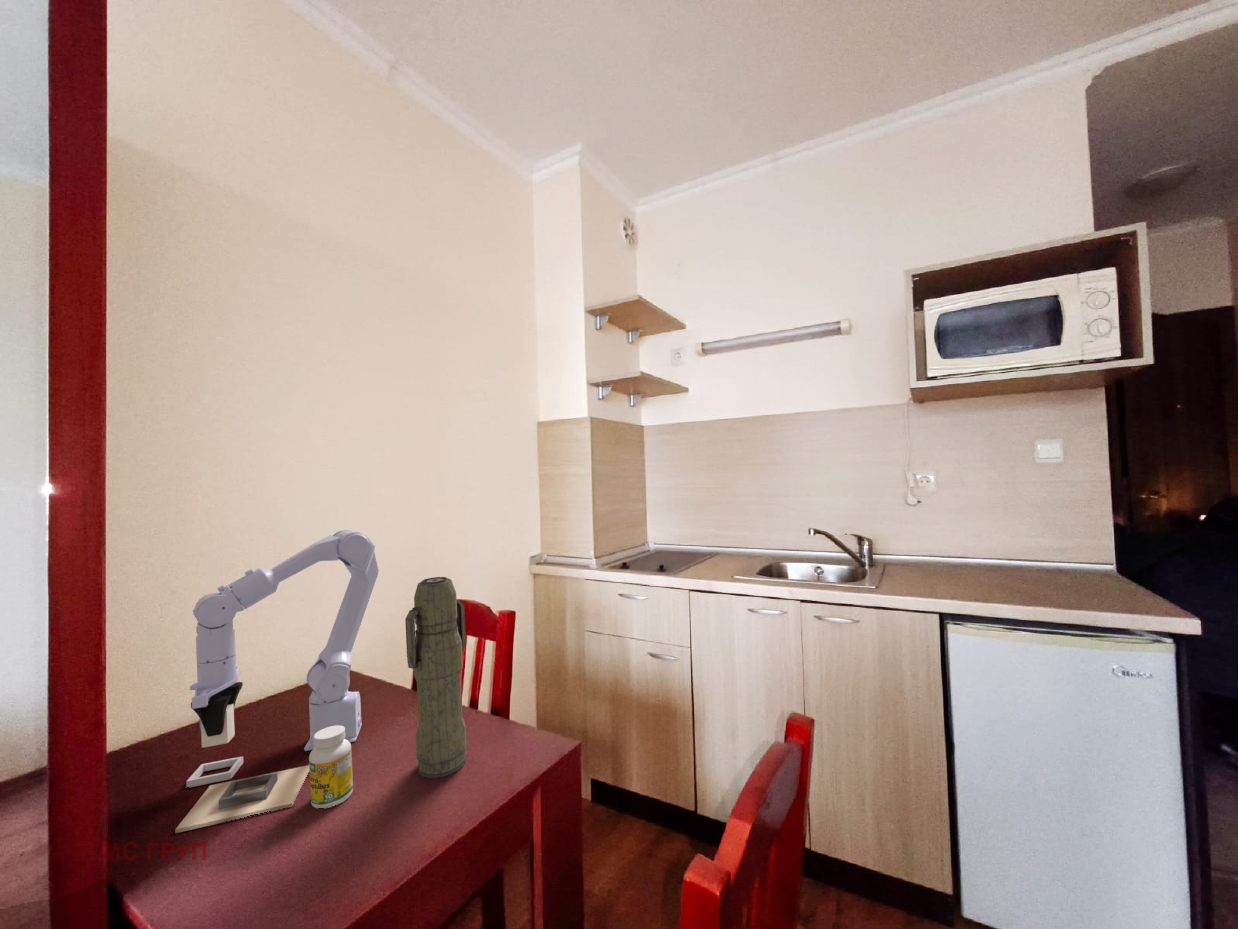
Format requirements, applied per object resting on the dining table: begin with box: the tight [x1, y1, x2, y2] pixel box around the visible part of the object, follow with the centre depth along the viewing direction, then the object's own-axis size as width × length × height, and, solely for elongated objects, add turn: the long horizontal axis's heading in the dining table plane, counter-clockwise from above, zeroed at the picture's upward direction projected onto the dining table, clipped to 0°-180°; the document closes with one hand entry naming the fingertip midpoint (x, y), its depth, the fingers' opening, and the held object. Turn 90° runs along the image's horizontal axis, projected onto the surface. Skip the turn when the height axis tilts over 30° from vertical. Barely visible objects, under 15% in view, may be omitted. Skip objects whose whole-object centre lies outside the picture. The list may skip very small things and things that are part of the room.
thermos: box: [405, 576, 467, 779], centre depth 95 cm, size 9×12×35 cm
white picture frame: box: [185, 756, 244, 789], centre depth 94 cm, size 7×6×1 cm
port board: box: [174, 764, 310, 834], centre depth 87 cm, size 16×12×2 cm
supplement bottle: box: [308, 725, 354, 809], centre depth 86 cm, size 6×6×11 cm
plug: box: [199, 704, 236, 748], centre depth 93 cm, size 4×3×6 cm, turn 108°
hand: (219, 730), depth 93 cm, fingers closed on plug, 3 cm apart
